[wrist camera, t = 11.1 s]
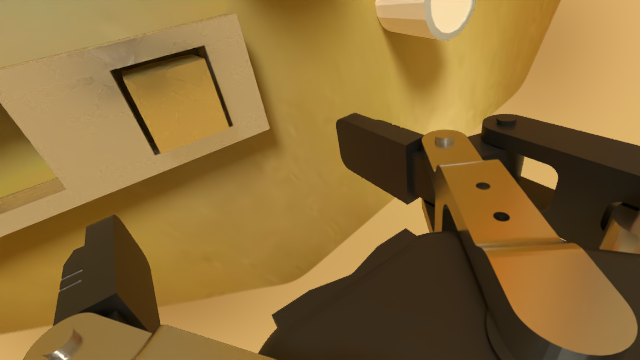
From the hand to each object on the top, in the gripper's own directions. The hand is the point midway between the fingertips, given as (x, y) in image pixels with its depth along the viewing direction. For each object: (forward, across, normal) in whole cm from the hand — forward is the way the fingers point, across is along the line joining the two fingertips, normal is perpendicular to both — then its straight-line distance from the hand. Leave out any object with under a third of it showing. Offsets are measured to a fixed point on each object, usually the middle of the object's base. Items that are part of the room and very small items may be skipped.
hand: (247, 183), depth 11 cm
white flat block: (+18, +6, 0) cm, 19 cm away
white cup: (+18, -24, -2) cm, 30 cm away
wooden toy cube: (+18, 0, 0) cm, 18 cm away
